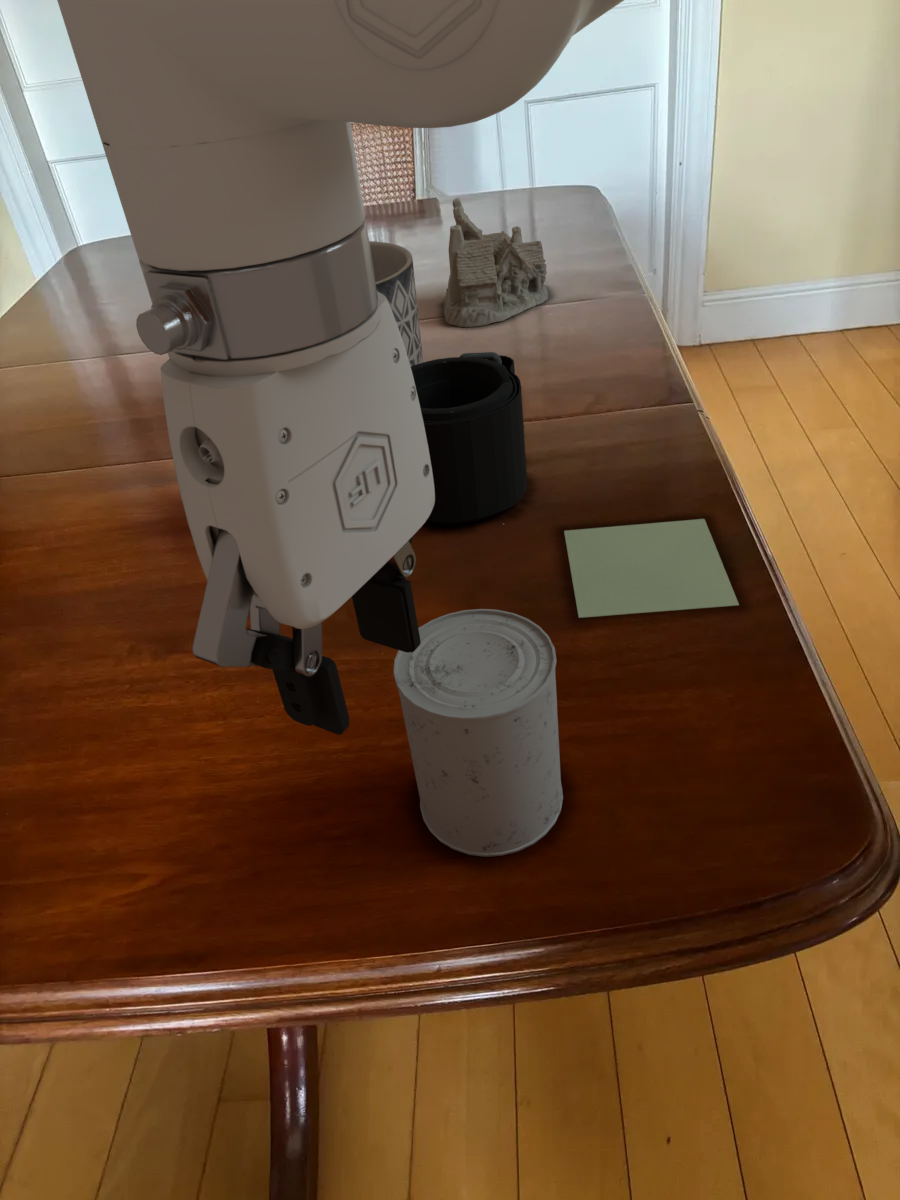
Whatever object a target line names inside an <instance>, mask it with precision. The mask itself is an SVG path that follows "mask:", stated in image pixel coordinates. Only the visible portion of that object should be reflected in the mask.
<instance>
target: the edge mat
mask: <svg viewBox="0 0 900 1200" xmlns="http://www.w3.org/2000/svg"><path fill="white" fill-rule="evenodd" d="M563 533H564V540H565V544H566V545H565V546H566V552H567V557H568V564H569V569H570V575H571V580H572V582H571V583H572V586H573V593H574V599H575V604H576V611H577V616H578V619H583V618H585V619H586V618H596V617H608V616H621V615H622V616H624V615H635V614H648V613H649V614H650V613H659V612H660V613H661V612H673V611H674V612H675V611H686V610H687V611H688V610H699V609H712V608H721V607H722V608H723V607H738V606H740V604H739V601H738V599H737V596H736V594H735V591H734V589H733V586H732V583H731V580H730V579H729V576H728V574H727V571H726V569H725V567H724V564H723V561H722V559H721V556H720V553H719V551H718V549H717V547H716V544H715V542H714V539H713V536H712V534H711V532H710V529H709V527H708V524H707V522H706V519H705V518H698V519H688V520H687V519H685V520H674V521H663V522H661V521H660V522H651V523H650V522H649V523H639V524H626V525H615V526H604V527H592V528H591V527H590V528H581V529H569V530H567V529H566V530H563Z"/></svg>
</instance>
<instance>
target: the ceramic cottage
mask: <svg viewBox="0 0 900 1200" xmlns="http://www.w3.org/2000/svg"><path fill="white" fill-rule="evenodd" d="M452 207H453V209H452V213H453V218H454V221H455V225H451V226H450V228H449V239H448V261H449V263H448V264H449V276H448V283H447V288H446V293H445V296H444V297H443V298H442V300H443V304H444V305H443V312H444V314H443V316H444V321H445V322H446V323H447V324H449V325H451V326H455V327H459V328H461V327H462V328H473V327H482V326H486V325H491V324H492V323H493V324H494V323H498V322H503V321H505V320H508V319H510V318H511V317H513V316H516V315H518V314H520V313H523V312H525V311H526V310H528V309H530V308H534V307H536V306H539V305H541V304H543V303H544V302H545V301H547V300H548V299H549V296H550V295H549V292H548V289H547V287H546V285H545V281H546V279H547V277H546V275H547V273H548V271H547V264H546V259H544V258H545V257H544V249H543V243H542V240H535V241H528V242H527V241H526V242H523V236H522V229H521V227H520V226H518V225H516V226H513V227H512V228H511V233H512V234H511V236H509V234H507V233H506V231H504V230H502V231H500V232H493V233H489V234H483V230H482V229H481V228H478V227H477V226H476V224H475V223H474V222H472V221H471V220H470V219H471V218H469V216H468V215H467V213H465V209H464V206H463V204H462V200H461V199H460V197H457V198H454V199H452Z"/></svg>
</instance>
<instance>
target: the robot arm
mask: <svg viewBox="0 0 900 1200" xmlns="http://www.w3.org/2000/svg"><path fill="white" fill-rule="evenodd" d="M56 1H57V4H58V8H59V10H60V13H61V17H62V19H63V24H64V26H65V29H66V33H67V36H68V39H69V42H70V45H71V49H72V51H73V56H74V57H75V62H76V64H77V68H78V71H79V74H80V78H81V81H82V84H83V87H84V91H85V93H86V96H87V97H86V98H87V100H88V103H89V106H90V109H91V112H92V115H93V119H94V122H95V125H96V129H97V131H98V135H99V138H100V142H101V145H102V148H103V151H104V155H105V157H106V160H107V164H108V166H109V170H110V173H111V176H112V179H113V182H114V186H115V188H116V192H117V194H118V197H119V201H120V204H121V205H120V206H121V207H122V211H123V214H124V217H125V220H126V223H127V224H126V225H127V227H128V230H129V233H130V236H131V239H132V242H133V245H134V248H135V251H136V255H137V258H138V263H139V266H140V269H141V272H142V275H143V279H144V282H145V286H146V288H147V292H148V295H149V298H150V301H151V307H150V308H149V309H147V310H144V311H143V312H142V313H141V312H140V313H139V314H138V316H137V318H136V324H135V327H136V331H137V334H138V336H139V338H140V340H141V341H142V343H143V344H144V345H145V347H146V348H147V349H148V350H150V352H151V353H153V354H155V355H159V356H163V355H165V354H167V355H168V358H169V359H167V360H166V361H165V362H164V363H163V364H162V365H161V366H160V376H161V387H162V388H161V389H162V399H163V405H164V412H165V413H164V414H165V421H166V427H167V435H168V439H169V445H170V451H171V456H172V462H173V466H174V467H173V468H174V472H175V477H176V481H177V485H178V489H179V494H180V498H181V503H182V505H183V509H184V513H185V518H186V520H187V521H186V522H187V524H188V529H189V531H190V534H191V537H192V542H193V544H194V548H195V551H196V554H197V558H198V560H199V563H200V566H201V568H202V569H201V570H202V571H203V574H204V576H205V579H206V586H205V591H204V595H203V599H202V604H201V607H200V608H201V609H200V613H199V617H198V622H197V624H196V629H195V634H194V639H193V643H192V654H193V656H194V657H195V658H196V659H199V660H201V661H204V662H206V663H210V664H211V665H215V666H217V667H221V668H250V667H260V668H263V669H266V670H267V669H268V670H272V673H273V676H274V680H275V682H276V686H277V689H278V692H279V695H280V700H281V702H282V705H283V708H284V710H285V713H286V714H287V715H288V716H289V718H291V719H292V720H293V721H295V722H296V723H298V724H302V725H304V726H308V727H311V726H314V727H317V728H319V729H322V730H325V731H327V732H330V733H333V734H335V735H338V736H341V735H343V734H344V733H345V732H346V730H347V729H349V726H350V715H349V711H348V707H347V703H346V698H345V696H344V691H343V687H342V682H341V679H340V675H339V670H338V667H337V663H336V661H334V660H333V659H332V658H331V657H328V656H325V655H323V622H324V621H326V620H327V619H329V618H330V617H331V616H332V615H333V614H335V612H337V611H338V610H339V609H340V608H341V607H342V606H343V605H344V604H345V603H346V602H348V600H350V599H352V604H353V609H354V612H355V617H356V622H357V626H358V627H357V628H358V631H359V634H360V637H361V638H362V639H364V640H365V641H368V642H371V643H375V644H378V645H382V646H385V647H387V648H390V649H394V650H397V651H399V650H400V651H403V652H407V653H409V652H414V651H415V650H416V649H417V648H418V646H419V645H420V644H421V641H420V635H419V629H418V628H419V623H418V619H417V618H418V617H417V612H416V607H415V600H414V595H413V589H412V583H411V581H410V580H408V579H407V578H409V577H411V576H412V574H413V573H414V570H415V569H416V565H417V557H416V556H417V555H416V554H415V551H414V549H413V547H412V542H413V539H414V535H415V534H416V533H417V532H418V531H419V530H420V529H421V528H422V527H423V525H424V524H426V522H427V521H426V520H427V519H428V517H429V516H430V514H431V512H432V509H433V507H434V503H435V490H434V480H433V473H432V466H431V460H430V454H429V448H428V443H427V438H426V433H425V427H424V422H423V418H422V413H421V408H420V404H419V399H418V395H417V391H416V386H415V382H414V378H413V374H412V370H411V367H410V363H409V360H408V356H407V353H406V349H405V346H404V343H403V340H402V337H401V334H400V331H399V328H398V325H397V322H396V320H395V317H394V315H393V313H392V310H391V308H390V305H389V303H388V300H387V298H386V297H385V296H384V295H383V294H381V293H379V292H377V289H376V282H375V276H374V270H373V263H372V257H371V251H370V244H369V241H370V239H369V233H368V227H367V226H368V225H367V220H366V214H365V213H366V212H365V207H364V200H363V194H362V187H361V181H360V175H359V168H358V162H357V156H356V150H355V143H354V137H353V131H352V125H351V123H353V124H355V123H356V124H364V125H372V126H380V127H381V126H383V127H391V128H393V127H394V128H403V129H404V128H406V129H441V128H453V127H457V126H462V125H469V124H472V123H476V122H480V121H482V120H484V119H487V118H490V117H492V116H494V115H496V114H499V113H501V112H503V111H505V110H507V109H508V108H510V107H511V106H513V105H515V104H517V102H519V101H520V100H521V99H522V98H523V97H525V96H526V95H528V94H529V92H531V91H532V90H533V89H534V88H535V87H537V85H538V84H539V83H540V82H541V81H542V80H543V79H544V78H545V76H546V75H548V73H549V72H550V71H551V69H552V68H553V66H554V65H555V64H556V62H557V61H558V59H559V58H560V57H561V54H563V51H564V50H565V48H566V47H567V45H568V44H569V43H570V42H571V41H570V40H571V39H572V37H574V35H576V34H577V33H579V32H581V31H582V30H584V29H585V28H586V27H588V26H589V25H590V24H592V23H594V21H597V19H600V18H601V17H602V16H603V15H605V14H606V13H608V12H609V11H611V10H612V9H613V8H615V7H617V6H618V5H619V4H621V3H623V2H624V1H625V0H56ZM248 618H249V620H250V621H249V622H250V628H247V622H248ZM281 624H282V625H286V626H290V627H292V637H290V636H287V635H282V634H281Z"/></svg>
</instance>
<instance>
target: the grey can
mask: <svg viewBox="0 0 900 1200" xmlns="http://www.w3.org/2000/svg"><path fill="white" fill-rule="evenodd" d="M418 629H419V635H420V641H421V644H420V645H419V646H418V648H417V649H416V650H415V651H414V652H409V653H407V652H403V651H400V650H397V653H396V655H395V658H394V662H393V677H394V681H395V684H396V685H395V686H396V687H397V689H398V694H399V699H400V704H401V710H402V715H403V719H404V720H403V721H404V724H405V730H406V736H407V740H408V745H409V750H410V756H411V760H412V765H413V771H414V776H415V781H416V785H417V791H418V796H419V808H420V812H421V816H422V820H423V822H424V824H425V825H426V827H427V830H428V831H429V832H430V833H431V834H432V835H433V836H434V837H435V838H436V839H437V840H438V841H439V842H440V843H442V844H443V845H444V846H447V847H449V848H450V849H452V850H454V851H456V852H459V853H462V854H465V855H469V856H475V857H482V858H483V857H484V858H489V857H503V856H506V855H511V854H514V853H519V852H520V851H522V850H524V849H527V848H529V847H532V846H533V845H535V844H536V843H537V842H538V841H540V840H541V839H543V838H544V837H545V836H546V835H547V834H548V833H549V831H550V830H551V829H552V828H553V826H555V824H556V823H557V820H558V818H559V816H560V814H561V811H562V807H563V801H564V793H563V785H562V779H561V777H562V776H561V757H560V756H561V755H560V738H559V717H558V698H557V697H558V695H557V680H556V666H557V655H556V653H557V652H556V648H555V646H554V644H553V642H552V640H551V638H550V636H549V635H548V634H547V633H546V631H545V630H543V628H542V627H541V626H539V625H538V624H537V623H535V622H534V621H532V620H531V619H529V618H527V617H524V616H522V615H519V614H517V613H514V612H510V611H505V610H502V609H501V610H500V609H492V608H491V609H489V608H477V609H476V608H475V609H463V610H459V611H455V612H450V613H447V614H444V615H442V616H438V617H436V618H434V619H431V620H430V621H428V622H427V623H424V624H422V625H421V626H418Z"/></svg>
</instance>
